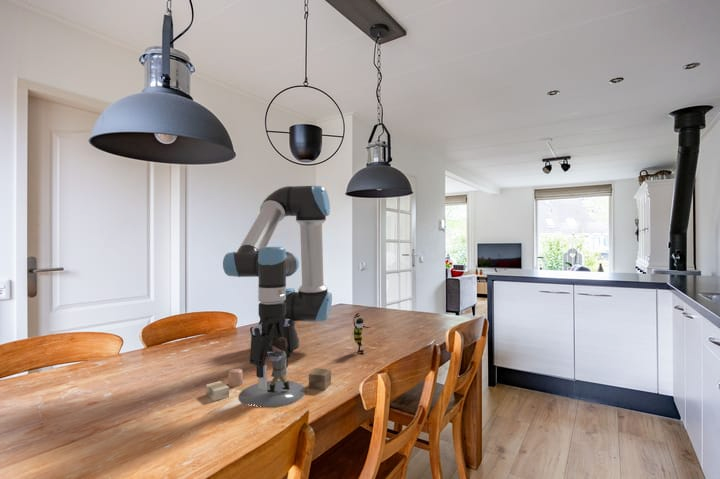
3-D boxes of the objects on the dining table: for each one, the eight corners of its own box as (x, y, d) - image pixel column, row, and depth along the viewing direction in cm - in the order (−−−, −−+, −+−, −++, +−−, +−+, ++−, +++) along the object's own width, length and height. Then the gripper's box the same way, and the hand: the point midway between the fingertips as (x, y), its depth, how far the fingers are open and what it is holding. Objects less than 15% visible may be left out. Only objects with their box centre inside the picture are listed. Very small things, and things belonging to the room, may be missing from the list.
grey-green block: (205, 399, 103) (205, 384, 103) (220, 394, 106) (220, 380, 106) (214, 406, 98) (214, 391, 98) (229, 401, 101) (229, 387, 101)
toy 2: (370, 355, 140) (370, 315, 140) (350, 355, 140) (350, 315, 140) (370, 350, 147) (370, 312, 147) (351, 350, 147) (351, 312, 147)
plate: (225, 400, 102) (225, 395, 102) (275, 379, 116) (275, 376, 116) (269, 418, 91) (269, 413, 91) (318, 393, 106) (318, 389, 106)
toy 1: (259, 384, 108) (260, 333, 108) (291, 387, 106) (291, 335, 106) (246, 395, 100) (247, 340, 100) (280, 399, 98) (280, 342, 98)
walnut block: (308, 391, 108) (308, 374, 108) (315, 384, 113) (315, 368, 113) (325, 393, 106) (324, 375, 106) (331, 386, 111) (330, 369, 111)
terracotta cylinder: (225, 388, 110) (225, 371, 110) (237, 384, 113) (236, 367, 113) (233, 391, 107) (233, 374, 107) (245, 387, 111) (245, 370, 111)
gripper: (252, 308, 94) (253, 399, 94) (306, 298, 109) (306, 376, 109) (234, 305, 98) (234, 392, 98) (288, 296, 114) (288, 371, 114)
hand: (272, 384), depth 104 cm, fingers open, 6 cm apart
